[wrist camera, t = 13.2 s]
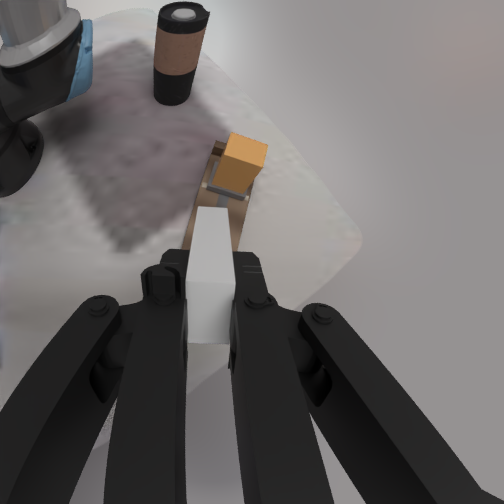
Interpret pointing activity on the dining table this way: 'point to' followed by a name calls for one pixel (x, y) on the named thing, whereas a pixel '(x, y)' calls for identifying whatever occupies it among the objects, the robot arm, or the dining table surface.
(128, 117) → the dining table surface
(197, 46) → the travel mug
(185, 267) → the robot arm
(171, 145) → the dining table surface
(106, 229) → the dining table surface
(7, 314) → the dining table surface
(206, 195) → the fader rail
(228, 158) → the fader knob
